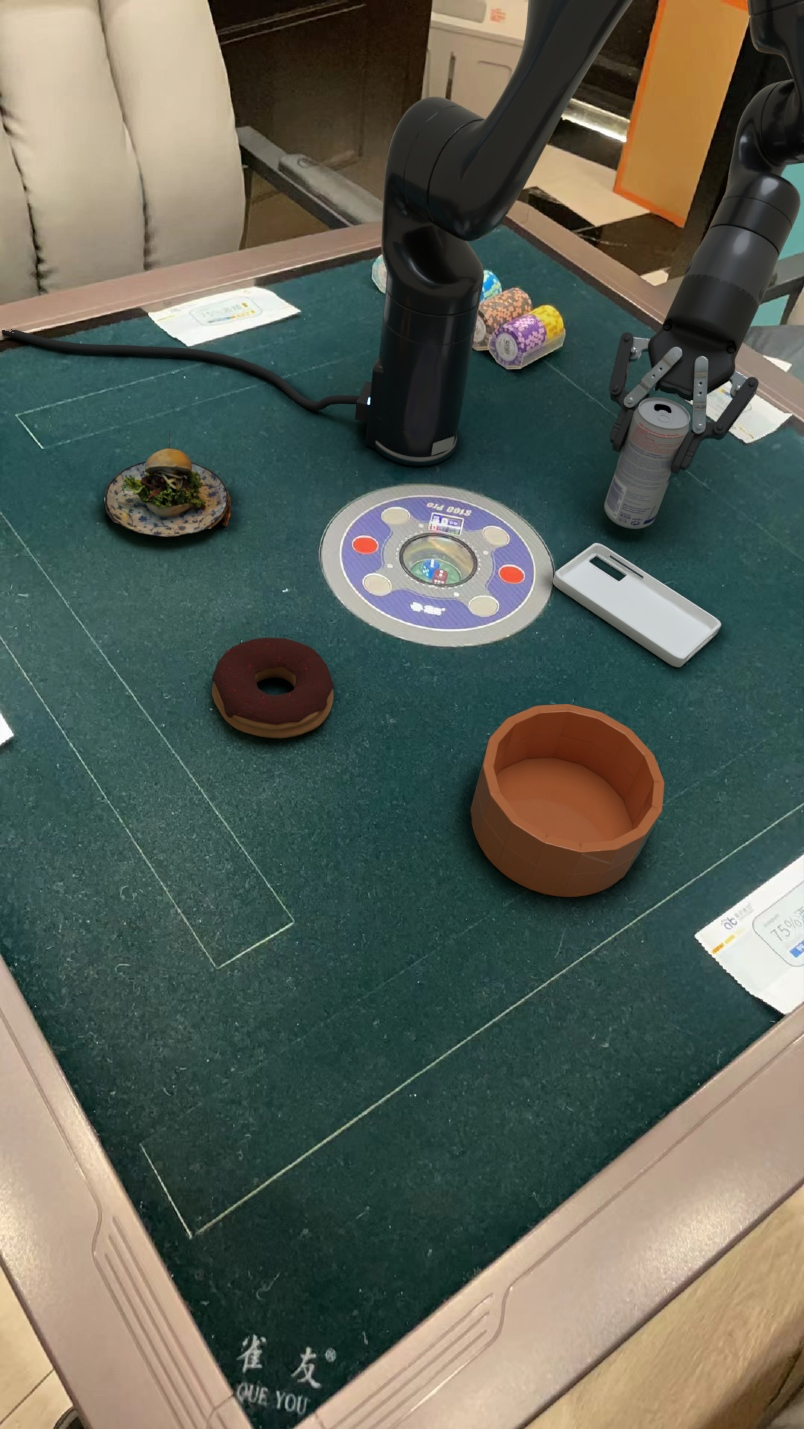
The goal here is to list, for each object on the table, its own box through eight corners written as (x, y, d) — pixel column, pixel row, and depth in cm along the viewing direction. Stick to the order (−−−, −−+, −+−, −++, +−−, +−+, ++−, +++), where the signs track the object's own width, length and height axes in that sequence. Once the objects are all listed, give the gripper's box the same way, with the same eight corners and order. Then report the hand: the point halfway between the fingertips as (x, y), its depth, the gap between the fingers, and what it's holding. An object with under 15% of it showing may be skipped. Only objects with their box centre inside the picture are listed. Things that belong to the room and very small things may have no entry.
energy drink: (653, 500, 109) (690, 401, 100) (656, 534, 105) (694, 433, 96) (602, 493, 109) (634, 392, 100) (603, 526, 105) (637, 424, 96)
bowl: (455, 871, 80) (469, 823, 75) (487, 737, 88) (501, 686, 83) (631, 916, 79) (657, 871, 74) (645, 777, 88) (669, 728, 83)
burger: (81, 524, 100) (70, 460, 94) (146, 458, 107) (140, 395, 101) (193, 566, 98) (189, 503, 92) (252, 496, 105) (252, 433, 99)
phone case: (549, 583, 102) (677, 670, 96) (552, 573, 101) (681, 660, 95) (594, 550, 105) (719, 632, 100) (597, 540, 104) (724, 622, 99)
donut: (350, 679, 91) (353, 648, 88) (306, 762, 85) (308, 732, 82) (243, 643, 92) (242, 611, 89) (192, 723, 86) (190, 691, 83)
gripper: (790, 331, 100) (714, 496, 102) (650, 282, 103) (578, 443, 105) (800, 301, 93) (717, 480, 95) (649, 250, 96) (571, 424, 98)
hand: (644, 460), depth 100 cm, fingers closed on energy drink, 5 cm apart
